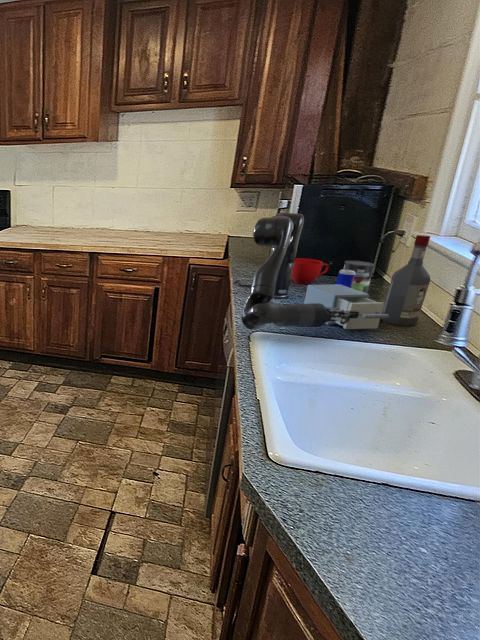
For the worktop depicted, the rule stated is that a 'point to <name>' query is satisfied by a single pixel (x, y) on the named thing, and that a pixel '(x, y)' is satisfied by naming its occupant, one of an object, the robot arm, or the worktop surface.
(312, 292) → the cabinet
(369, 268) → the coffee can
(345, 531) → the worktop surface
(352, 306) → the drawer
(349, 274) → the beverage can
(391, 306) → the liquor
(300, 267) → the ceramic cup
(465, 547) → the worktop surface
